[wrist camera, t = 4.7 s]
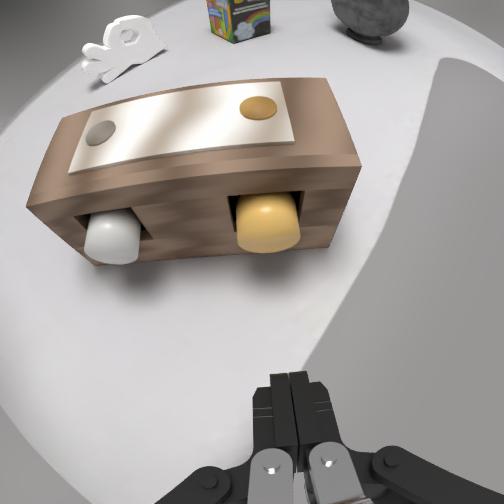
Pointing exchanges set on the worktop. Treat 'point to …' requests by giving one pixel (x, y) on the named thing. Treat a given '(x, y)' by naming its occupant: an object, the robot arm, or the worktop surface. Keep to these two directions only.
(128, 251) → the grey button
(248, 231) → the amber button
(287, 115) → the button panel
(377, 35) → the grey vase
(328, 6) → the worktop surface
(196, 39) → the worktop surface
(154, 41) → the white lobed cutout
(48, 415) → the worktop surface
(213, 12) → the chalk box
